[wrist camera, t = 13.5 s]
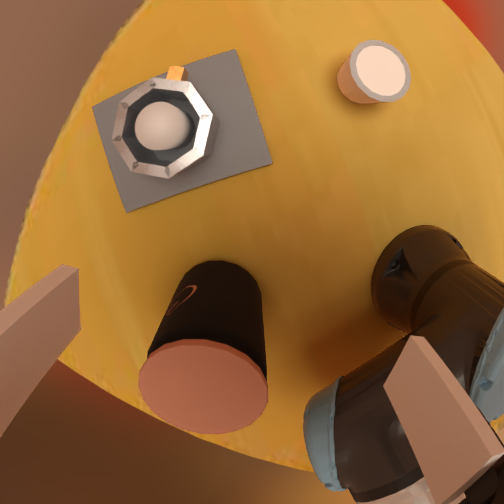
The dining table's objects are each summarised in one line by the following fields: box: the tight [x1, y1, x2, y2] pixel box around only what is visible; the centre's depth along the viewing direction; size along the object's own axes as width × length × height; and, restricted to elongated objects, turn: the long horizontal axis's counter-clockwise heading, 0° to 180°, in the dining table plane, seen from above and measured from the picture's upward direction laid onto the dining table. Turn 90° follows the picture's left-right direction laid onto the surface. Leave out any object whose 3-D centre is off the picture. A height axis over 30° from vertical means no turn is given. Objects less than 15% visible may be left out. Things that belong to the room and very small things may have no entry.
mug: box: [112, 66, 220, 179], centre depth 28 cm, size 10×9×7 cm
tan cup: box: [337, 40, 411, 104], centre depth 28 cm, size 7×7×7 cm
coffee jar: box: [139, 261, 268, 434], centre depth 31 cm, size 11×11×18 cm
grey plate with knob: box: [92, 49, 272, 213], centre depth 29 cm, size 18×14×8 cm
